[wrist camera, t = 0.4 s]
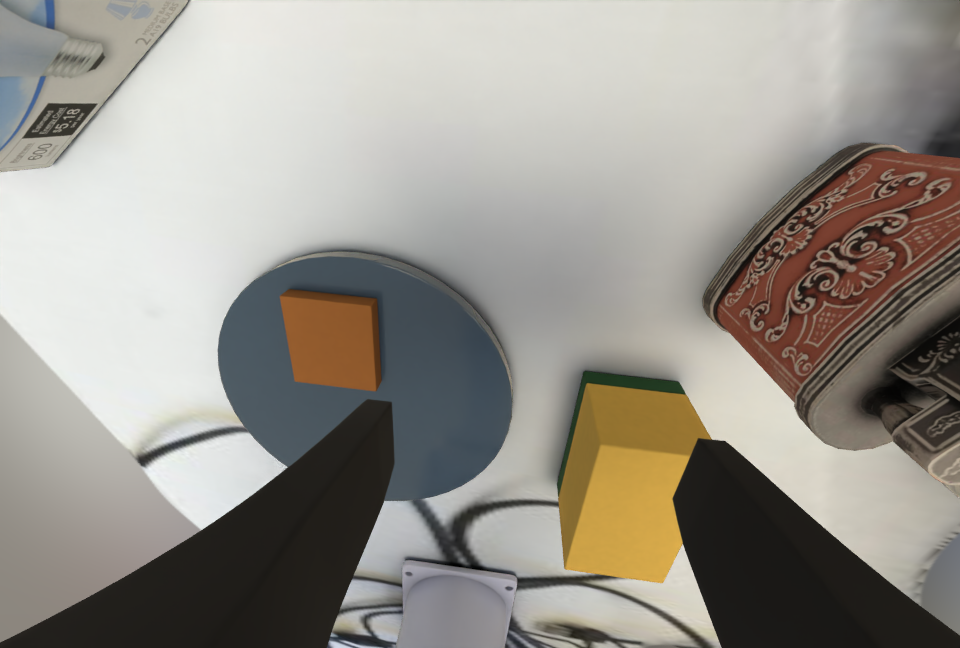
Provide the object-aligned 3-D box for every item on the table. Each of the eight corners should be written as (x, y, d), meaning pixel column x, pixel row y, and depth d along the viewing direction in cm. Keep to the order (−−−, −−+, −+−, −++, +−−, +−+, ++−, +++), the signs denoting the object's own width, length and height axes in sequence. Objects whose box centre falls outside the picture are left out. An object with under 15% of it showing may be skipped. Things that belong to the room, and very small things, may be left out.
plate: (498, 499, 24) (497, 517, 23) (261, 467, 25) (249, 483, 24) (531, 266, 17) (531, 276, 16) (200, 232, 18) (180, 239, 17)
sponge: (637, 494, 23) (663, 584, 19) (556, 483, 23) (564, 570, 19) (679, 381, 19) (725, 460, 15) (583, 370, 20) (600, 444, 15)
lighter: (742, 338, 18) (951, 555, 9) (683, 301, 17) (844, 494, 9) (920, 175, 14) (1541, 273, 6) (852, 121, 14) (1420, 139, 5)
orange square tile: (381, 382, 20) (376, 391, 19) (302, 372, 20) (294, 381, 19) (377, 298, 18) (371, 306, 17) (288, 288, 18) (278, 295, 17)
